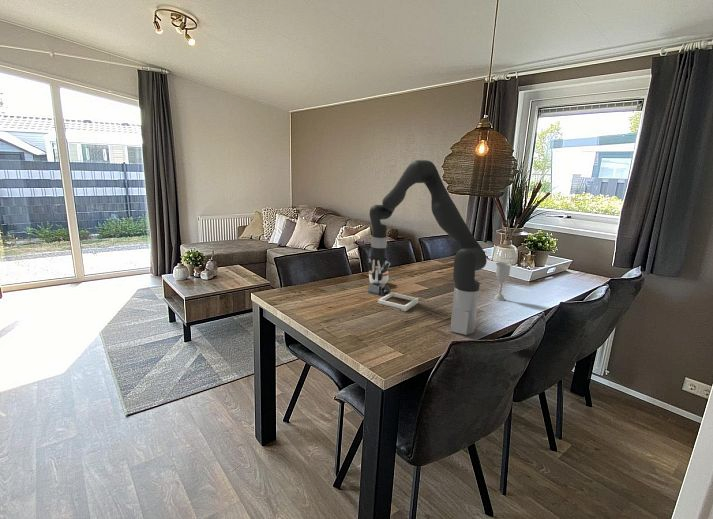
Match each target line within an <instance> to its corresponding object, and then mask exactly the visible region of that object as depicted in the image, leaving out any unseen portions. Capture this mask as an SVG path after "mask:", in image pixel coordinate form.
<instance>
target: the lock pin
mask: <svg viewBox="0 0 713 519" xmlns="http://www.w3.org/2000/svg"><path fill="white" fill-rule="evenodd" d="M378 274H379V269H378V266H375V284H374V285H379V281H378Z"/></svg>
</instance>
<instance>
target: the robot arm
mask: <svg viewBox="0 0 713 519" xmlns="http://www.w3.org/2000/svg"><path fill="white" fill-rule="evenodd" d="M415 184H424V185H425V186H426V188H427V190H428V191H429V193H430V196H431V197H430V199H431V204H430V205H431V206H430V207H431V213H432V215H433V216H434V218H435V221H436V223H437V224H438V226H439V227H440V228H441V229H442V230H443V231H444V232H445V234H447V235H448V236H449V237H451V238H452V239H453V240H454V241H455V242H456V244H457V245H458V247H459V249H458V251H457V252H456V253H455V256H454V259H453V260H454V261H453V274H452V276H453V277H452V278H453V283H454V290H453V295H452V296H453V298H452V305H451V306H452V309H451V318H450V332H453V333H457V334H460V335H464V336H467V335H471V334H473V333H474V332H475V328H476V319H477V311H478V303H479V293H480V281H478V280H476V279H475V278H476V271H480V270H482V269H484V268H485V267H486V264H487V262H488V259H487V255H486V252H485V251H484V249H483V248H482V246H481V244H479V242H478V241H477V239H476V238H475V237H474V235H473V234H472V232H471V231H470V229H469V226H467V224H466V222H465V220H464V218H463V217H462V215H461V213H460V211H459V209H458V208H457V206H456V204H455V202H454V201H453V199H452V197H451V196H450V194H449V192H448V190H447V189H446V187H445V185H444V183H443V180H442V178H441V176H440V174H439V171H438V169H437V167H436V165H435V164H434V163H433V162H432V161H430V160H427V159H426V160H425V159H424V160H423V159H421V160H419V159H418V160H417V159H416V160H413V161H411V162H410V163H409V165H408V166H407V167H406V168H405V170H404V172H403V173H402V175H401V176H400V177H399V179H398V181H397V182H396V184H395V185H394V187H393V188H392V189H391V190H390V191H389V192H388V193H387V194H386V195H385V196H384V197H383V198H382V200H381V201H382V202H381V204H374V205H372V206H371V207H370V209H369V218H370V223H371V230H372V231H371V232H372V233H371V240H370V257H369V258H366V259H365V263H366V266H367V268H368V272H369V271H372V278H373V280H375V266H378V269H379V274H378V281H381V280H382V276H383V273H385V272H387V271H388V270H389V268H390V267H391V264H392V263H391V262H390V261H388V260H387V257H386V256H387V246H388V243H387V234H388V232H387V231H388V228H387V227H388V226H387V225H386V224H382V223H381V220H387V219H389V218H390V217H391V216H392V215H393V213H394V211H395V210H396V208H397V207H398V206H399V205H400V204H401V203H402V202H403V201H404V200H405V197H406V194H407V191H408V190H409V189H410V187H412V186H414V185H415Z"/></svg>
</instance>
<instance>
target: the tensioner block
mask: <svg viewBox="0 0 713 519" xmlns="http://www.w3.org/2000/svg"><path fill="white" fill-rule="evenodd" d="M374 284H375V282H373V283H371V282H370V283H369V284H368V290H367V291H364V293H366V294H369V295H373V296H379V297H381V298H382V297H384V296H386V295H388V294H390V293H391V292H393V293H395V292H394V291H392V290H391V287H390V285H386V284H383V283H379V285H374Z"/></svg>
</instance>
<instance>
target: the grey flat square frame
mask: <svg viewBox="0 0 713 519" xmlns="http://www.w3.org/2000/svg"><path fill="white" fill-rule="evenodd" d="M393 292H394V291H391V293H390V294H388V295H386V296H384V297H382V296H381V297H380V298H379V299H377V304H380V305H384V306H388V307H393V308H396V309H398V311H400V312H408V311H409V310H411V309H412V308H413V307H415V306H416V305H418V303H419V297H415V296H411V295H405V294H400V293H397V292H394V293H393ZM392 297H395V298H399V299H403V300H408V301H409V302H408V303H406V304H400V303H396V302H392V301H388V299H390V298H392Z"/></svg>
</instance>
